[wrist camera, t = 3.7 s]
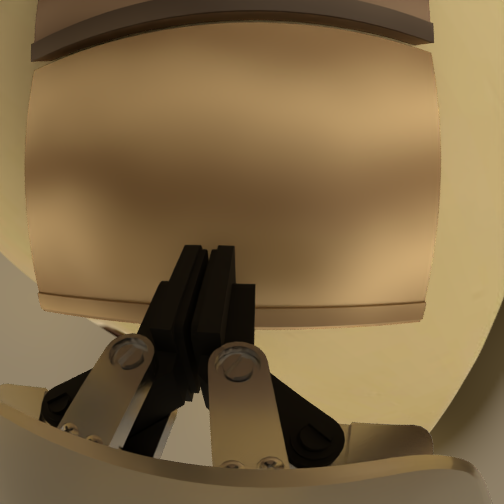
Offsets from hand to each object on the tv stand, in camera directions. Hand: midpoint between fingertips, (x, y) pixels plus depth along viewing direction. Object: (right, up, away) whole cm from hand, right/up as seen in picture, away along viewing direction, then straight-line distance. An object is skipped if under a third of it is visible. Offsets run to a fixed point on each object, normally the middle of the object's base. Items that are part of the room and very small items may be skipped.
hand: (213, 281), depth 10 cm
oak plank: (0, +4, +1) cm, 4 cm away
